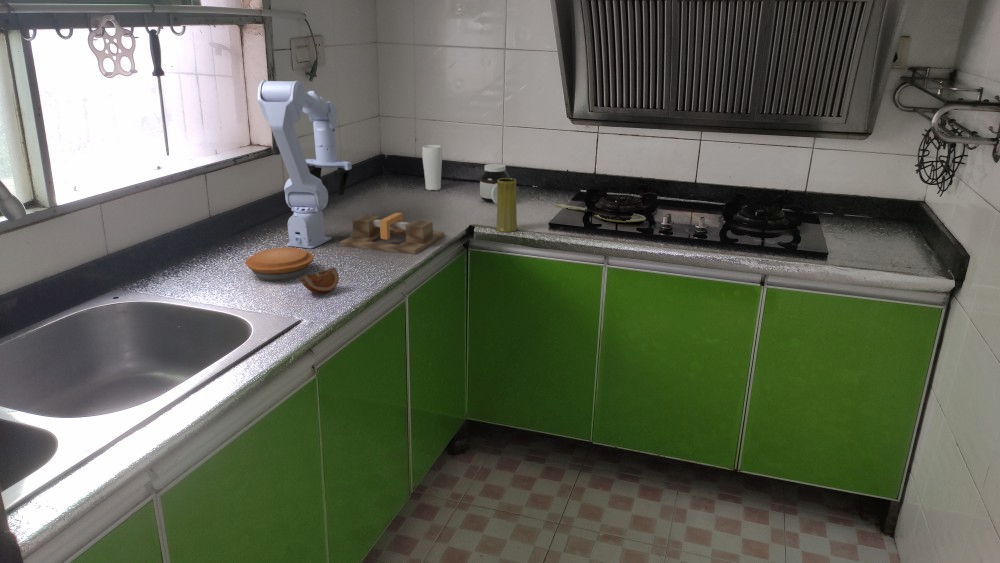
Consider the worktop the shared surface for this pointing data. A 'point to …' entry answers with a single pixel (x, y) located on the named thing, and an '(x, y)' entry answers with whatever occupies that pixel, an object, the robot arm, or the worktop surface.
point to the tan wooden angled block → (388, 221)
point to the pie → (280, 263)
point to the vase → (506, 205)
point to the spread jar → (491, 181)
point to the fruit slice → (321, 281)
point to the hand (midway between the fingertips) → (329, 193)
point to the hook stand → (369, 230)
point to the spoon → (634, 218)
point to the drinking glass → (432, 166)
